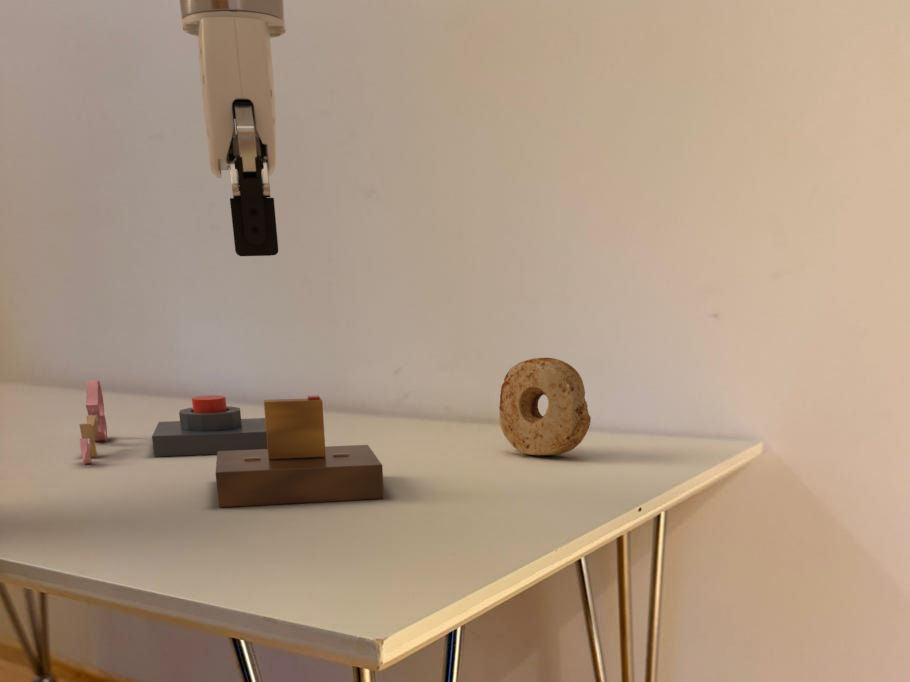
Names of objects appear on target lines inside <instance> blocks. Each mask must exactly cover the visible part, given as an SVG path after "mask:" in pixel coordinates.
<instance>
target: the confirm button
mask: <svg viewBox="0 0 910 682" xmlns="http://www.w3.org/2000/svg"><path fill="white" fill-rule="evenodd" d="M226 399H227V398H226V396H224V395H216V394H215V395H211V394H209V395H198V396H193V397H191V404H192V408H193V412H194V413H216V412H225V411H227V407H226V406H227V400H226Z"/></svg>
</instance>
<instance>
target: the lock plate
mask: <svg viewBox="0 0 910 682" xmlns="http://www.w3.org/2000/svg"><path fill="white" fill-rule="evenodd" d="M325 453H326V456H325V457H314V458H291V459H269V458H268V449H257V450H233V451H218V452H217V454H216V462H215V463H216V464H215V482H216V492H217V501H218V502H217V503H218V507H219V508H234V507H235V508H237V507H251V506H252V507H253V506H270V505H271V506H272V505H289V504H290V505H291V504H304V503H305V504H307V503H326V502H344V501H345V502H346V501H363V500H382V499H384V498H385V497H384V495H385V494H384V473H383V472H384V470H383V469H384V468H383V464H382V462H381V461H380V460H379V458H378V456H377V455H376V454H375V453H374V451H373V450H372V448H371V447H370V446H369V444H354V445H353V444H352V445H336V446H335V445H329V446H328V445H327V446H325Z"/></svg>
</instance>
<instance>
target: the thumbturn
mask: <svg viewBox="0 0 910 682" xmlns="http://www.w3.org/2000/svg"><path fill="white" fill-rule="evenodd" d="M323 404H324V403H323V399H322V397H320V395H307V398H287V399H286V398H284V399H283V398H280V399H279V398H278V399H263V407H264V408H263V409H264V418H265V423H266V435H267V447H268V458H269V459H291V458H314V457H325V456H326V453H325V447H326V439H325V437H326V436H325V424H324V421H325V420H324V405H323Z"/></svg>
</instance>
